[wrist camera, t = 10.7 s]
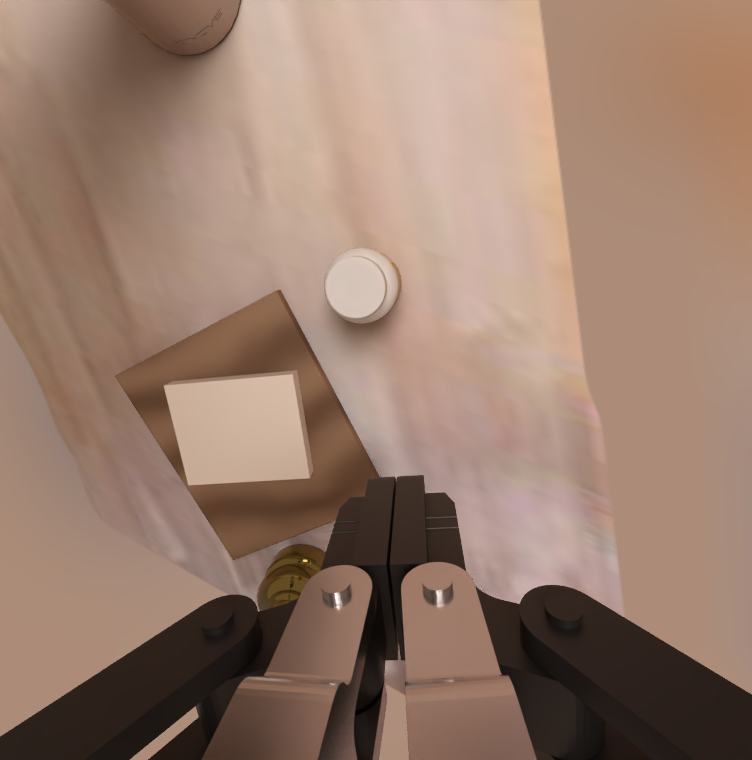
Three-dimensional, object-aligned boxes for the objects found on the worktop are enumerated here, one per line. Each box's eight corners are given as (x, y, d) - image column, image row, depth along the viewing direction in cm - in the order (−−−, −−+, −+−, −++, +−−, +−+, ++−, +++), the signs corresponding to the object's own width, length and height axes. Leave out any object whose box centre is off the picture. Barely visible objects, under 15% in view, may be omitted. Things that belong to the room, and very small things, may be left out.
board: (123, 373, 41) (114, 376, 40) (280, 289, 37) (276, 290, 36) (238, 552, 45) (233, 560, 44) (388, 493, 42) (387, 499, 40)
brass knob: (263, 587, 46) (224, 672, 36) (280, 533, 44) (243, 607, 34) (327, 609, 46) (304, 700, 36) (346, 555, 44) (328, 636, 34)
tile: (297, 370, 38) (173, 380, 39) (292, 374, 36) (163, 385, 38) (313, 470, 40) (196, 477, 42) (309, 478, 39) (188, 485, 40)
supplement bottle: (414, 281, 36) (414, 286, 27) (372, 326, 37) (358, 346, 28) (368, 236, 35) (352, 226, 26) (327, 284, 37) (298, 290, 28)
